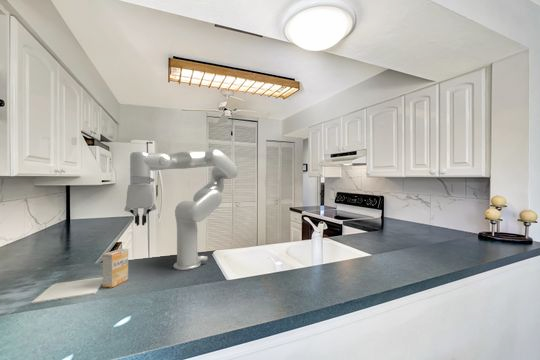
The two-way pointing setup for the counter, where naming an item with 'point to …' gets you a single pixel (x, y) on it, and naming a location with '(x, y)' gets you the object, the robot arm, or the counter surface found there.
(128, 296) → the counter surface
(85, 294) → the mat
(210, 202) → the robot arm
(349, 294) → the counter surface
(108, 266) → the supplement box
